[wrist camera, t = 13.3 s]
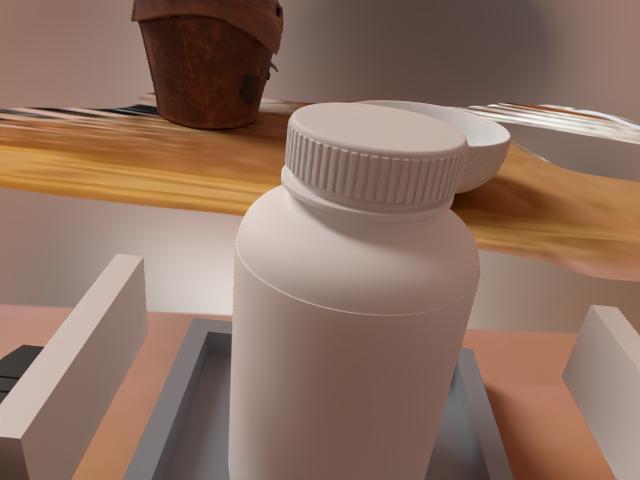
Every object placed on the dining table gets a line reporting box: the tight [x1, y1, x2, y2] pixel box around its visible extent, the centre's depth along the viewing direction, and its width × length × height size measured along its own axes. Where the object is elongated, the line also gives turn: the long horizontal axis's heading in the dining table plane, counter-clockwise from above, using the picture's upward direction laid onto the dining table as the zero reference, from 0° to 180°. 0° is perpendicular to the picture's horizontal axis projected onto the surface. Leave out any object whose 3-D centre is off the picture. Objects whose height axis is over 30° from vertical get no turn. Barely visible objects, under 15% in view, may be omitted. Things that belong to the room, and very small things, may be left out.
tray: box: [123, 318, 514, 480], centre depth 22 cm, size 15×15×2 cm
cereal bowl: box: [355, 100, 511, 194], centre depth 54 cm, size 17×17×7 cm
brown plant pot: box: [131, 0, 283, 129], centre depth 66 cm, size 18×20×18 cm
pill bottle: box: [228, 103, 480, 480], centre depth 19 cm, size 8×8×15 cm
